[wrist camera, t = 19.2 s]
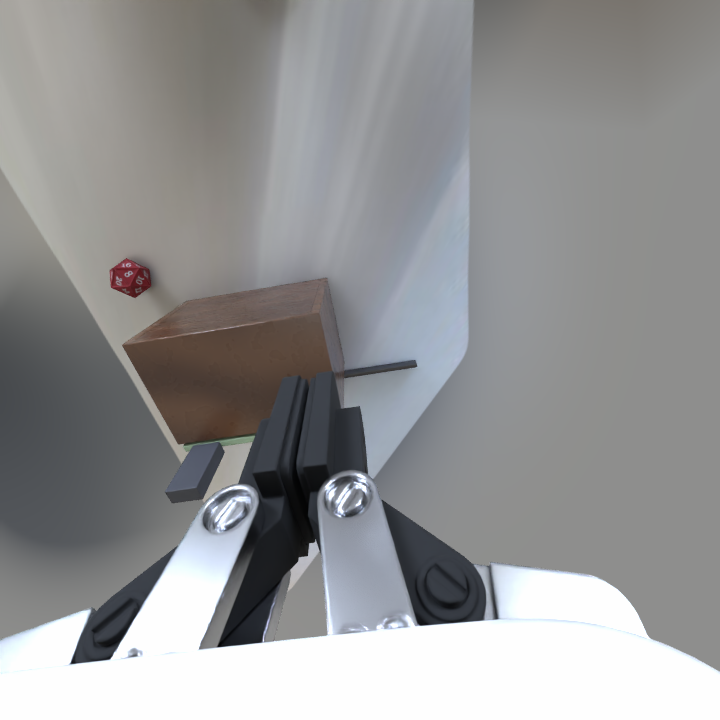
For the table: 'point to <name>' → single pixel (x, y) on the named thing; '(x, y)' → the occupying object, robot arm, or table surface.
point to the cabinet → (239, 357)
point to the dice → (130, 278)
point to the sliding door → (200, 467)
